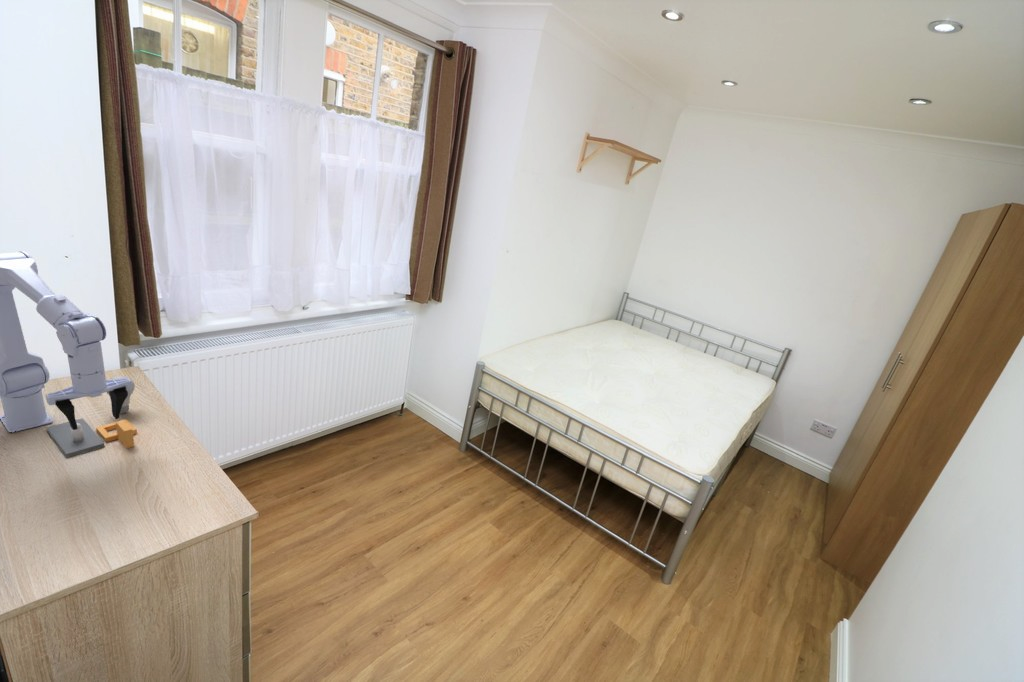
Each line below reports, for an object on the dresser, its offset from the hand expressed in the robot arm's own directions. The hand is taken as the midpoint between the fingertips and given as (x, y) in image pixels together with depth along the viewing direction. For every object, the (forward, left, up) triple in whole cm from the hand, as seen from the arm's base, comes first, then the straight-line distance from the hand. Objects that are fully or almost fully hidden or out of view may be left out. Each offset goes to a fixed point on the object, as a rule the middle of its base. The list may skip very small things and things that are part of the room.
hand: (95, 422), depth 110 cm
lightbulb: (-17, +10, -9) cm, 22 cm away
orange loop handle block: (-5, +6, -9) cm, 12 cm away
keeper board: (-11, -2, -9) cm, 14 cm away
